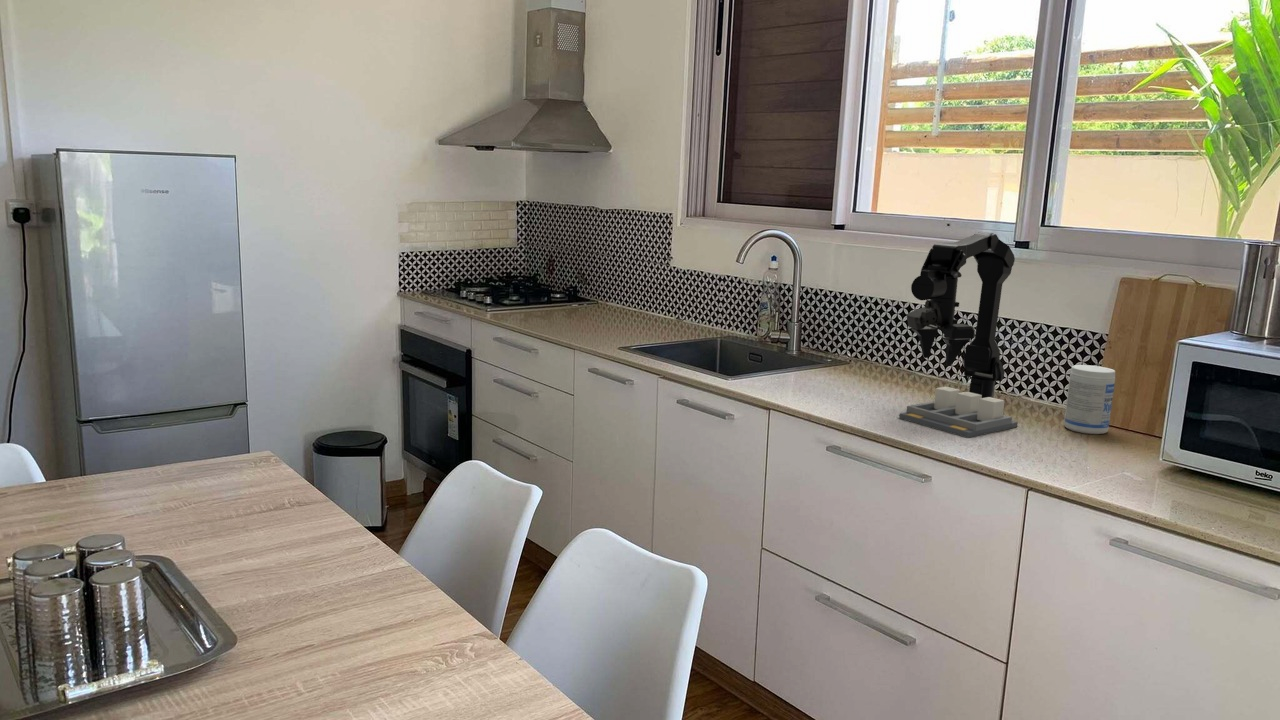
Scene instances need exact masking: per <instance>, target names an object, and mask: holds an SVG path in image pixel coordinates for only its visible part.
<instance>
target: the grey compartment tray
mask: <svg viewBox="0 0 1280 720" xmlns="http://www.w3.org/2000/svg"><path fill="white" fill-rule="evenodd" d="M934 402H935V400H933V401H929V402H923V403H921V402H920V403H916V404H912V405H911V404H910V405H906V411H905V412H900V413H899V417H898V419H900V420H905V421H908V422H912V423H915V424H919V425H921V426H925V427H929V428H931V429H932V428H933V429H935V430H940V431H943V432H947V433H950V434H953V435H957V436H961V437H964V438H966V439H967V438H968V439H969V438H974V437H978V436H982V435H987V434H993V433H995V432H996V433H998V432H1000V431H1001V432H1002V431H1005V430H1010V429H1014V428H1017V427H1018V421H1015V420H1013V416H1008V415H1005V414H1003V417H1000V418H995V419H990V420H986V421H980V420H977V414H978V412H973V413H968V414H963V415H958V414H955V408H956V406H954V407H948V408H943V409H935V408H934Z"/></svg>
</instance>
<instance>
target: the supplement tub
mask: <svg viewBox="0 0 1280 720" xmlns="http://www.w3.org/2000/svg"><path fill="white" fill-rule="evenodd" d="M1069 373H1070V374H1069V379H1068V380H1069V381H1068V388H1067V397H1066V403H1065V405H1066V406H1065V413H1064V414H1065V415H1064V421H1063V422H1064V423H1063V424H1064V427H1065V428H1066V429H1068V430H1070V431H1071V432H1076V433H1082V434H1090V435H1101V434H1106V433H1107V432H1108V431H1109V428H1110V427H1109V426H1110V420H1111V413H1112V405H1113V397H1114V393H1115V392H1114V391H1115V383H1116V370H1115V369H1112V368H1109V367H1104V366H1099V365H1092V364H1091V365H1089V364H1075V365H1072V366H1071V371H1070V372H1069Z"/></svg>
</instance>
